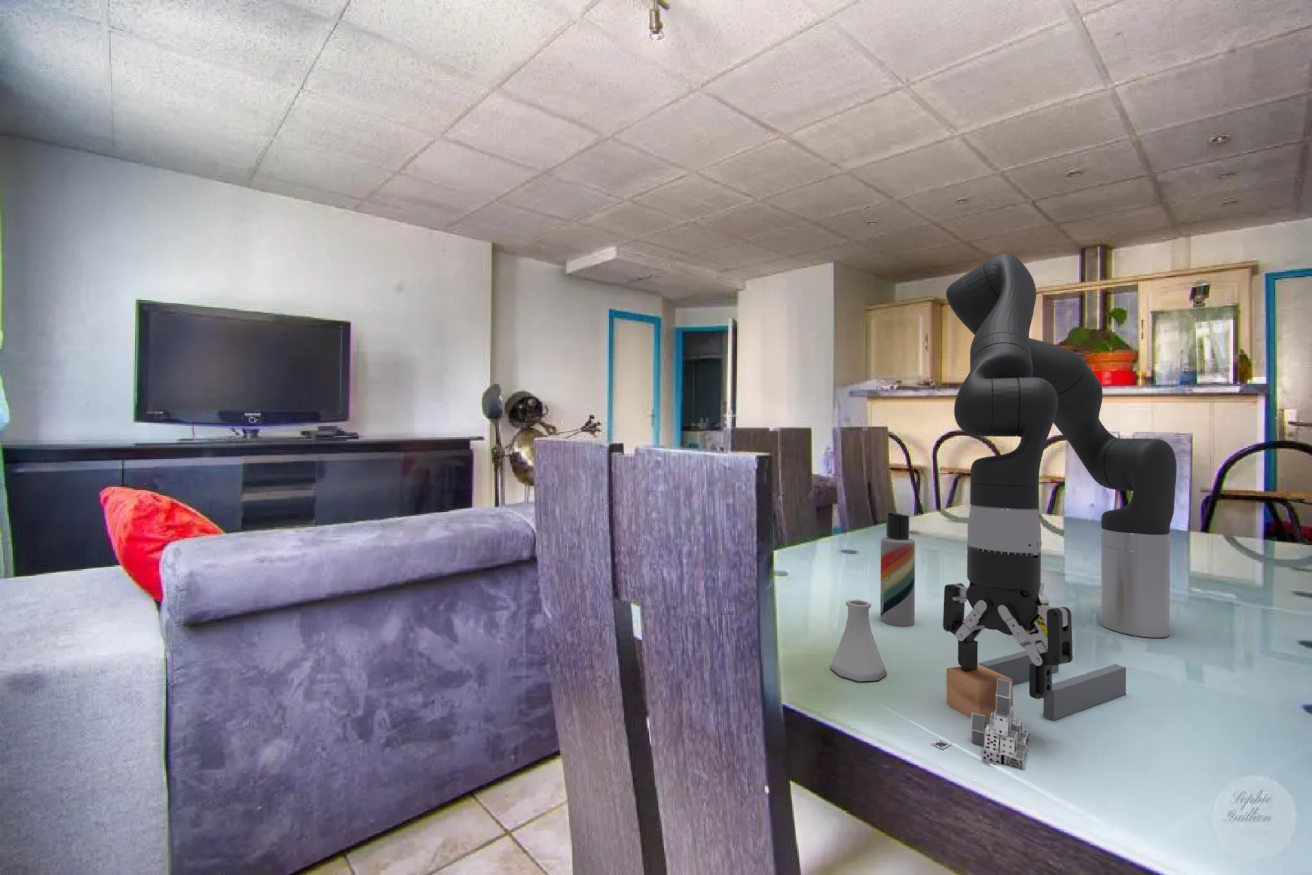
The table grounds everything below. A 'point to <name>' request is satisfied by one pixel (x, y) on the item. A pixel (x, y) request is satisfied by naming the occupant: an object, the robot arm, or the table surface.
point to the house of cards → (999, 731)
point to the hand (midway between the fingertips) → (1002, 683)
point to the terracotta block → (974, 690)
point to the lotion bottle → (897, 573)
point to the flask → (858, 647)
